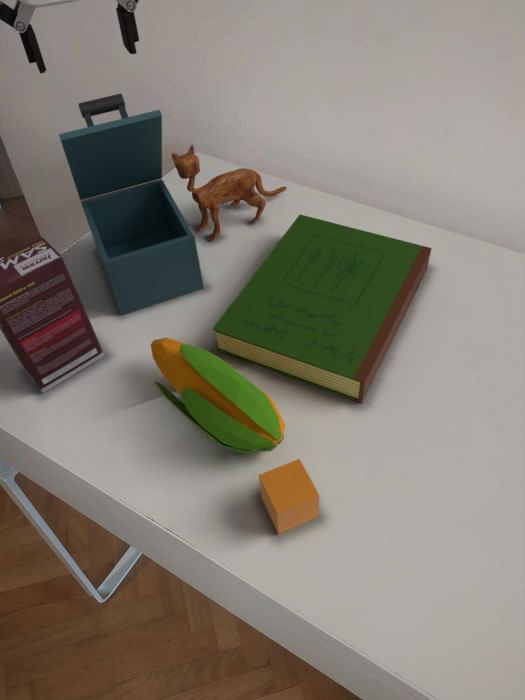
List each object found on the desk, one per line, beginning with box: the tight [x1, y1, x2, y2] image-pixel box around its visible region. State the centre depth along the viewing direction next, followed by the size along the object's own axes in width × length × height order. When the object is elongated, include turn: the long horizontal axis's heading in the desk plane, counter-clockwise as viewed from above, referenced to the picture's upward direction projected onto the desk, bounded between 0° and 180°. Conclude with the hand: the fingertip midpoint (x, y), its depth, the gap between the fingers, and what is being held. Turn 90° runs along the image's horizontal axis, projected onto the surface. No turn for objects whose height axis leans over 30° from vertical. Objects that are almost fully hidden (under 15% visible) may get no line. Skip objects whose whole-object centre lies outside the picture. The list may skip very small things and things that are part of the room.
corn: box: [150, 337, 286, 454], centre depth 61 cm, size 7×8×20 cm
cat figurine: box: [171, 144, 288, 242], centre depth 82 cm, size 18×7×14 cm, turn 127°
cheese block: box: [258, 458, 320, 535], centre depth 54 cm, size 4×4×4 cm
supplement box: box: [0, 236, 105, 394], centre depth 63 cm, size 9×5×16 cm, turn 130°
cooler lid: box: [58, 93, 163, 201], centre depth 71 cm, size 15×11×5 cm
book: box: [211, 214, 433, 404], centre depth 72 cm, size 25×19×4 cm
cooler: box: [80, 178, 204, 316], centre depth 77 cm, size 14×11×9 cm
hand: (86, 59), depth 62 cm, fingers open, 9 cm apart
